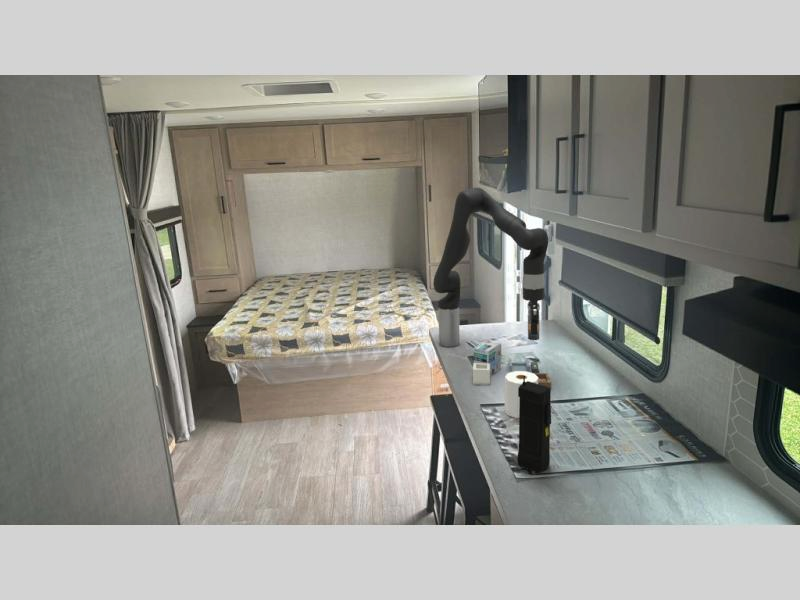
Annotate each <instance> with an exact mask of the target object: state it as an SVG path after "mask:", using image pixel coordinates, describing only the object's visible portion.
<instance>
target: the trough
mask: <svg viewBox="0 0 800 600" xmlns="http://www.w3.org/2000/svg"><path fill="white" fill-rule="evenodd" d="M533 374H535V375H536V376H537V377H538V384H539V385H543V386H546V387H549V388H551V389H552V381H551V377H550V374H549V373H544V372H543V373H542V372H540V373H533Z"/></svg>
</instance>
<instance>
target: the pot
mask: <svg viewBox="0 0 800 600" xmlns="http://www.w3.org/2000/svg"><path fill="white" fill-rule="evenodd" d="M472 385H474V386H475V385H476V386H490V385H491V376H490V364H484V363H474V362H473V366H472Z"/></svg>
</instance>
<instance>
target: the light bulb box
mask: <svg viewBox="0 0 800 600" xmlns="http://www.w3.org/2000/svg"><path fill="white" fill-rule="evenodd" d="M473 363H484V364H490V377H491V376H493V375H494V374H496V373H497V372H499V371H500V370H501V369H502V343H501V342H497V341H490V340H485V341H483V342H481V343H480V344H479V345H476V346H475V347H473Z"/></svg>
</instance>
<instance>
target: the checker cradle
mask: <svg viewBox="0 0 800 600" xmlns="http://www.w3.org/2000/svg"><path fill="white" fill-rule="evenodd" d="M505 365H506V366H507V367H506V374H507V373H510V372H514V371H526V372H530V373H541V372H540V369H539V364H538V362H537V361H536V362H535V361H532V362H529V358H525V362H522V361H520V362H519V361H518V362H513V361H512V358H511V357H510V358H508V363H506V364H505Z"/></svg>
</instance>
